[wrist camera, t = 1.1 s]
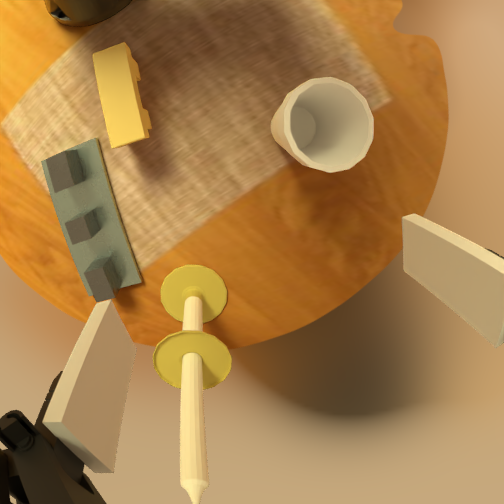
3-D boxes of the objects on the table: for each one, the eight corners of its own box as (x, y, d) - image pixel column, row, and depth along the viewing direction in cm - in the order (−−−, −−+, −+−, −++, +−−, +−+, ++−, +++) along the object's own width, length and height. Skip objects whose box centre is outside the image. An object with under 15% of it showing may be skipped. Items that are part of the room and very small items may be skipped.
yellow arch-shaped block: (107, 65, 32) (92, 54, 26) (135, 55, 32) (124, 41, 26) (125, 146, 36) (111, 148, 30) (154, 137, 36) (144, 137, 30)
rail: (44, 160, 34) (27, 164, 30) (97, 137, 35) (84, 138, 30) (91, 293, 42) (80, 309, 38) (142, 279, 43) (136, 295, 38)
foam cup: (287, 175, 41) (321, 191, 29) (244, 121, 37) (262, 113, 25) (338, 135, 40) (389, 137, 28) (299, 81, 36) (338, 60, 24)
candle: (155, 316, 45) (126, 521, 15) (166, 257, 42) (121, 474, 12) (218, 328, 48) (247, 531, 18) (235, 272, 45) (291, 486, 15)
